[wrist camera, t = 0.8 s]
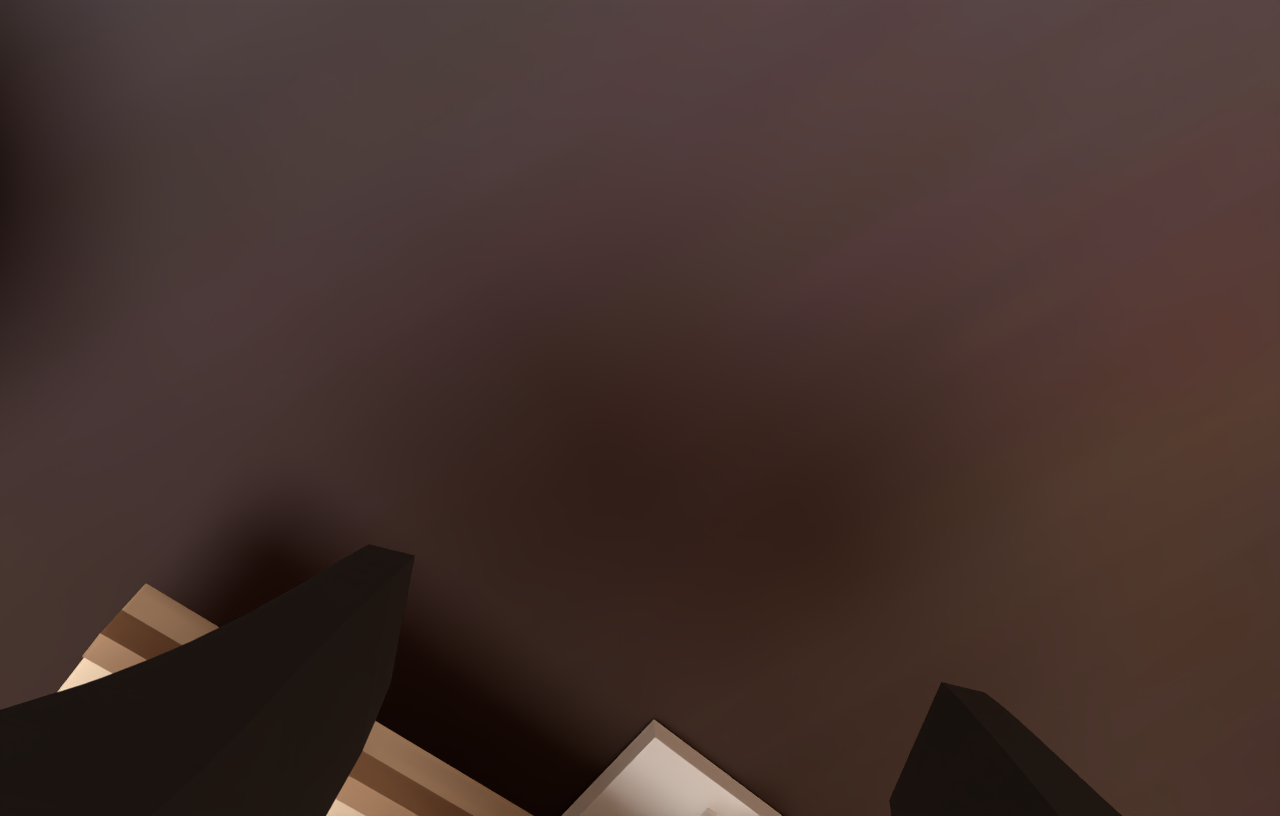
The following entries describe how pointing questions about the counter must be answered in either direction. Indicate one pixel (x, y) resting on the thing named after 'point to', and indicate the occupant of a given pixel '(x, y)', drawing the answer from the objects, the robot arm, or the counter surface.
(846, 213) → the counter surface
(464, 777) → the beam
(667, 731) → the fulcrum stand
